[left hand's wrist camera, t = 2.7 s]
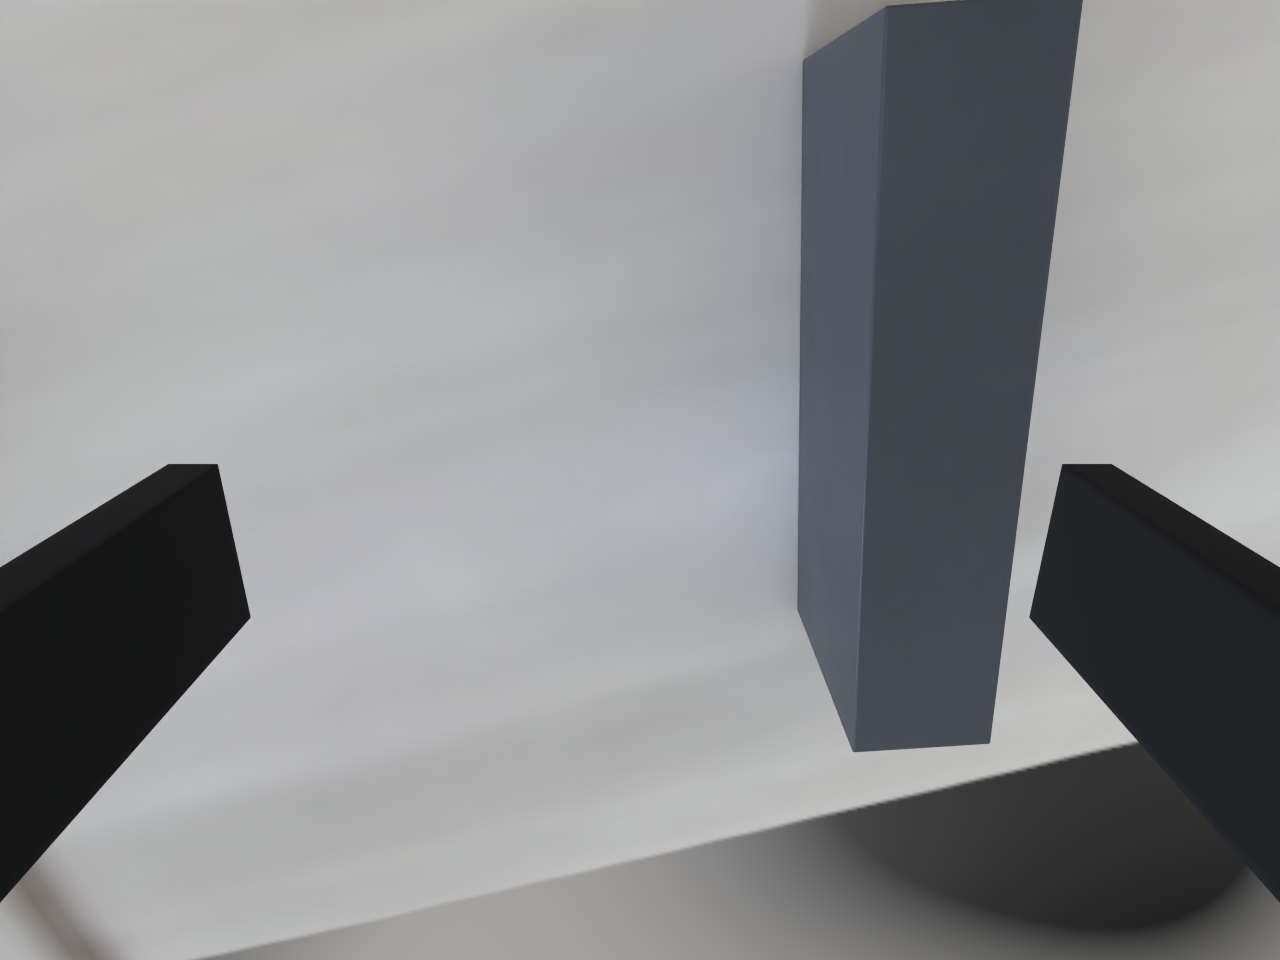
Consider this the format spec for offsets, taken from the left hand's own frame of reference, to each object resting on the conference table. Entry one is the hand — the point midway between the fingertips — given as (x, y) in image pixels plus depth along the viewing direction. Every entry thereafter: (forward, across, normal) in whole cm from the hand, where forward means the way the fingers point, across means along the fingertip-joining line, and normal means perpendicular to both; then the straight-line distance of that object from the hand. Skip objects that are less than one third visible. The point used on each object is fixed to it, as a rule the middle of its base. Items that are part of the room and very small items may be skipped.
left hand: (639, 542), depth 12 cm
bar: (+20, -9, +2) cm, 21 cm away
